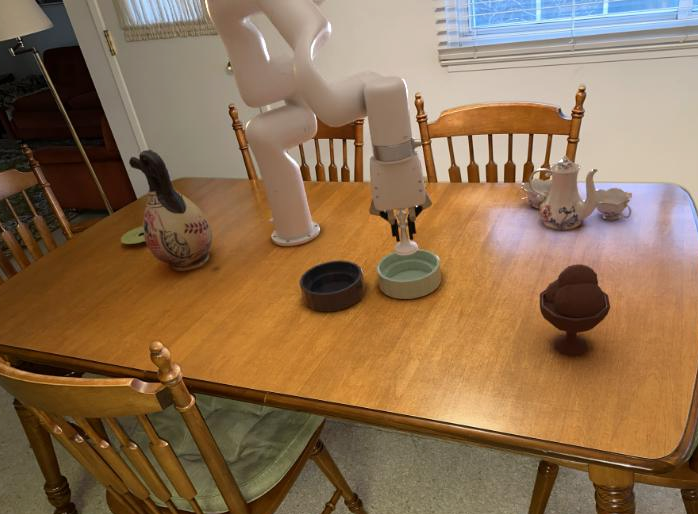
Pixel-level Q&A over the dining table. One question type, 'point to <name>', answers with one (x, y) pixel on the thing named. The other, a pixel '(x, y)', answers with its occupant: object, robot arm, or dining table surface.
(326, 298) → the dark bowl
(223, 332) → the dining table surface
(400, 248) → the chess piece
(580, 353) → the ice cream bowl
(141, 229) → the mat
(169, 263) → the ceramic jug
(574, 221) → the chinaware
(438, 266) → the green bowl
